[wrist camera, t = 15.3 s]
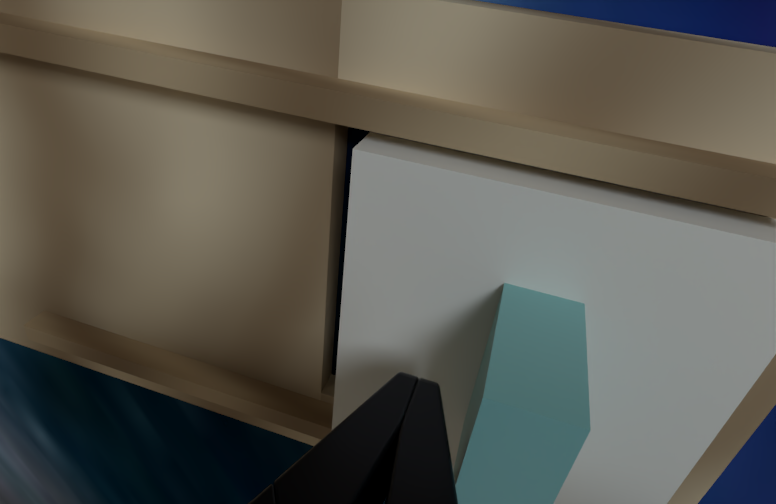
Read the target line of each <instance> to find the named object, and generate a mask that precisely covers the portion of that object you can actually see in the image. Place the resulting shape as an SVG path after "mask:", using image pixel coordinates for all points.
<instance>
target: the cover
mask: <svg viewBox="0 0 776 504" xmlns="http://www.w3.org/2000/svg"><path fill="white" fill-rule="evenodd" d="M775 354H776V219H773V218H768V217H763V216H759V215H754V214H749V213H745V212H740V211H735V210H731V209H726V208H721V207H717V206H712V205H708V204H703V203H698V202H694V201H689V200H684V199H680V198H675V197H670V196H666V195H661V194H656V193H652V192H647V191H642V190H638V189H633V188H628V187H624V186H619V185H614V184H610V183H605V182H600V181H596V180H591V179H586V178H582V177H577V176H572V175H568V174H563V173H558V172H554V171H549V170H544V169H540V168H535V167H530V166H526V165H521V164H516V163H512V162H507V161H502V160H498V159H493V158H488V157H484V156H479V155H474V154H470V153H465V152H460V151H456V150H451V149H446V148H442V147H437V146H432V145H428V144H423V143H418V142H414V141H409V140H405V139H400V138H395V137H391V136H386V135H381V134H377V133H372V132H370V133H369V134H368V135H367V136H366V137H365V138H364V139H362V140H361V141H360V142H359V143H358V144H357V145H356V146H355V147H354V148H353V151H352V165H351V178H350V191H349V205H348V218H347V231H346V245H345V258H344V271H343V285H342V298H341V312H340V325H339V338H338V352H337V365H336V378H335V392H334V405H333V418H332V430H333V429H334V428H335V427H336V426H338V425H339V424H340V423H341V422H342V421H343V420H344V419H346V418H347V417H348V416H349V415H350V414H351V413H352V412H354V411H355V410H356V409H357V408H358V407H359V406H360V405H361V404H363V403H364V402H365V401H366V400H367V399H368V398H369V397H371V396H372V395H373V394H374V393H375V392H376V391H377V390H379V389H380V388H381V387H382V386H383V385H384V384H385V383H387V382H388V381H389V380H390V379H391V378H392V377H393V376H395V375H396V374H397V373H399V372H404V373H408V374H411V375H414V376H417V377H418V378H424V379H427V380H430V381H433V382H436V383H438V384H439V386H440V391H441V397H442V403H443V410H444V416H445V423H446V429H447V435H448V442H449V448H450V454H451V461H452V467H453V474H454V480H455V486H456V493H457V499H458V504H667V503H668V502H669V500H670V499H671V497H672V496H673V495H674V493H675V492H676V491H677V489H678V488H679V486H680V485H681V484H682V482H683V481H684V479H685V478H686V477H687V475H688V474H689V473H690V471H691V470H692V468H693V467H694V466H695V464H696V463H697V462H698V460H699V459H700V457H701V456H702V455H703V453H704V452H705V451H706V449H707V448H708V446H709V445H710V444H711V442H712V441H713V440H714V438H715V437H716V435H717V434H718V433H719V431H720V430H721V429H722V427H723V426H724V424H725V423H726V422H727V420H728V419H729V418H730V416H731V415H732V413H733V412H734V411H735V409H736V408H737V407H738V405H739V404H740V402H741V401H742V400H743V398H744V397H745V396H746V394H747V393H748V391H749V390H750V389H751V387H752V386H753V385H754V383H755V382H756V380H757V379H758V378H759V376H760V375H761V374H762V372H763V371H764V369H765V368H766V367H767V365H768V364H769V363H770V361H771V360H772V358H773V357H774V356H775Z"/></svg>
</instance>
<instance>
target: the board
mask: <svg viewBox="0 0 776 504" xmlns="http://www.w3.org/2000/svg"><path fill="white" fill-rule="evenodd" d="M348 127H352V128H357V129H362V130H366V131H371V132H376V133H380V134H385V135H390V136H394V137H399V138H404V139H408V140H413V141H418V142H422V143H427V144H432V145H436V146H441V147H446V148H450V149H455V150H460V151H464V152H469V153H474V154H478V155H483V156H488V157H492V158H497V159H502V160H506V161H511V162H516V163H520V164H525V165H530V166H534V167H539V168H544V169H548V170H553V171H558V172H562V173H567V174H572V175H576V176H581V177H586V178H590V179H595V180H600V181H604V182H609V183H614V184H618V185H623V186H628V187H632V188H637V189H642V190H646V191H651V192H656V193H661V194H665V195H670V196H675V197H679V198H684V199H689V200H693V201H698V202H703V203H707V204H712V205H717V206H721V207H726V208H731V209H735V210H740V211H745V212H746V213H749V214H754V215H759V216H763V217H768V218H773V219H776V48H775V47H769V46H762V45H756V44H750V43H743V42H737V41H730V40H724V39H718V38H711V37H705V36H698V35H692V34H686V33H679V32H673V31H666V30H660V29H654V28H647V27H641V26H635V25H628V24H622V23H615V22H609V21H603V20H596V19H590V18H583V17H577V16H571V15H564V14H558V13H551V12H545V11H539V10H532V9H526V8H519V7H513V6H507V5H500V4H494V3H487V2H481V1H475V0H0V338H3V339H6V340H9V341H11V342H14V343H17V344H20V345H23V346H26V347H29V348H32V349H35V350H37V351H40V352H43V353H46V354H49V355H52V356H55V357H58V358H61V359H63V360H66V361H69V362H72V363H75V364H78V365H81V366H84V367H87V368H90V369H92V370H95V371H98V372H101V373H104V374H107V375H110V376H113V377H116V378H118V379H121V380H124V381H127V382H130V383H133V384H136V385H139V386H142V387H145V388H147V389H150V390H153V391H156V392H159V393H162V394H165V395H168V396H171V397H173V398H176V399H179V400H182V401H185V402H188V403H191V404H194V405H197V406H200V407H202V408H205V409H208V410H211V411H214V412H217V413H220V414H223V415H226V416H228V417H231V418H234V419H237V420H240V421H243V422H246V423H249V424H252V425H255V426H257V427H260V428H263V429H266V430H269V431H272V432H275V433H278V434H281V435H283V436H286V437H289V438H292V439H295V440H298V441H301V442H304V443H307V444H309V445H312V446H315V445H316V444H317V443H318V442H319V441H320V440H322V439H323V438H324V437H325V436H326V435H327V434H328V433H330V432H331V431H332V418H333V405H334V392H335V378H336V375H333V374H332V360H333V345H334V331H335V316H336V301H337V287H338V272H339V258H340V243H341V228H342V214H343V199H344V184H345V170H346V155H347V140H348ZM775 404H776V354H775V356H774V357H773V358H772V360H771V361H770V363H769V364H768V365H767V367H766V368H765V369H764V371H763V372H762V374H761V375H760V376H759V378H758V379H757V380H756V382H755V383H754V385H753V386H752V387H751V389H750V390H749V391H748V393H747V394H746V396H745V397H744V398H743V400H742V401H741V402H740V404H739V405H738V407H737V408H736V409H735V411H734V412H733V413H732V415H731V416H730V418H729V419H728V420H727V422H726V423H725V424H724V426H723V427H722V429H721V430H720V431H719V433H718V434H717V435H716V437H715V438H714V440H713V441H712V442H711V444H710V445H709V446H708V448H707V449H706V451H705V452H704V453H703V455H702V456H701V457H700V459H699V460H698V462H697V463H696V464H695V466H694V467H693V468H692V470H691V471H690V473H689V474H688V475H687V477H686V478H685V479H684V481H683V482H682V484H681V485H680V486H679V488H678V489H677V491H676V492H675V493H674V495H673V496H672V497H671V499H670V500H669V502H668V503H667V504H698V503H699V501H700V500H701V499H702V497H703V496H704V495H705V494H706V492H707V491H708V490H709V489H710V487H711V486H712V485H713V483H714V482H715V481H716V480H717V478H718V477H719V476H720V475H721V473H722V472H723V471H724V469H725V468H726V467H727V466H728V464H729V463H730V462H731V461H732V459H733V458H734V457H735V455H736V454H737V453H738V452H739V450H740V449H741V448H742V447H743V445H744V444H745V443H746V441H747V440H748V439H749V438H750V436H751V435H752V434H753V433H754V431H755V430H756V429H757V427H758V426H759V425H760V424H761V422H762V421H763V420H764V418H765V417H766V416H767V415H768V413H769V412H770V411H771V410H772V408H773V407H774V406H775Z"/></svg>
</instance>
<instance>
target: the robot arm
mask: <svg viewBox="0 0 776 504" xmlns="http://www.w3.org/2000/svg"><path fill="white" fill-rule="evenodd" d="M385 498H386V501H385ZM384 501H385V504H458V499H457V493H456V486H455V480H454V474H453V467H452V461H451V454H450V448H449V442H448V435H447V429H446V423H445V416H444V410H443V403H442V397H441V391H440V386H439V384H438V383H436V382H433V381H430V380H427V379H424V378H418V377H417V376H414V375H411V374H408V373H404V372H399V373H397V374H396V375H395V376H393V377H392V378H391V379H390V380H389V381H388V382H387V383H385V384H384V385H383V386H382V387H381V388H380V389H379V390H377V391H376V392H375V393H374V394H373V395H372V396H371V397H369V398H368V399H367V400H366V401H365V402H364V403H363V404H361V405H360V406H359V407H358V408H357V409H356V410H355V411H354V412H352V413H351V414H350V415H349V416H348V417H347V418H346V419H344V420H343V421H342V422H341V423H340V424H339V425H338V426H336V427H335V428H334V429H333V430H332V431H331V432H330V433H328V434H327V435H326V436H325V437H324V438H323V439H322V440H320V441H319V442H318V443H317V444H316V445H315V446H314V447H313V448H311V449H310V450H309V451H308V452H307V453H306V454H305V455H303V456H302V457H301V458H300V459H299V460H298V461H297V462H295V463H294V464H293V465H292V466H291V467H290V468H289V469H287V470H286V471H285V472H284V473H283V474H282V475H281V476H279V477H278V478H277V479H276V480H275V481H274V485H272V484H270V485H269V486H268V487H267V488H266V489H264V490H263V491H262V492H261V493H260V494H259V495H258V496H256V497H255V498H254V499H253V500H252V501H251V502H249V503H248V504H383V503H384Z"/></svg>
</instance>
